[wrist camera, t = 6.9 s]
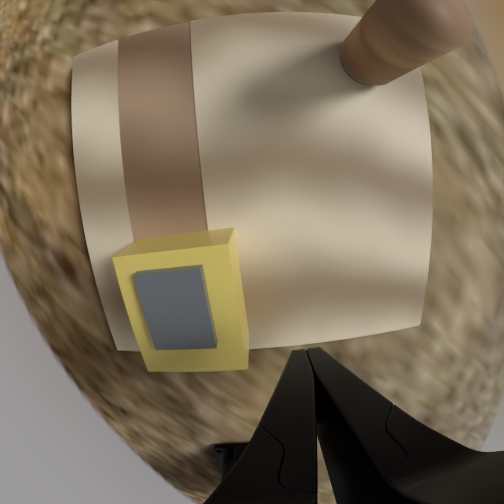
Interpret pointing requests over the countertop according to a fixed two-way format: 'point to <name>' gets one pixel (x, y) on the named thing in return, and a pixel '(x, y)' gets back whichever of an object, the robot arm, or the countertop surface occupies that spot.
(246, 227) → the plywood panel
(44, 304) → the countertop surface
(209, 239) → the block
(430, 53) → the wooden tool handle
